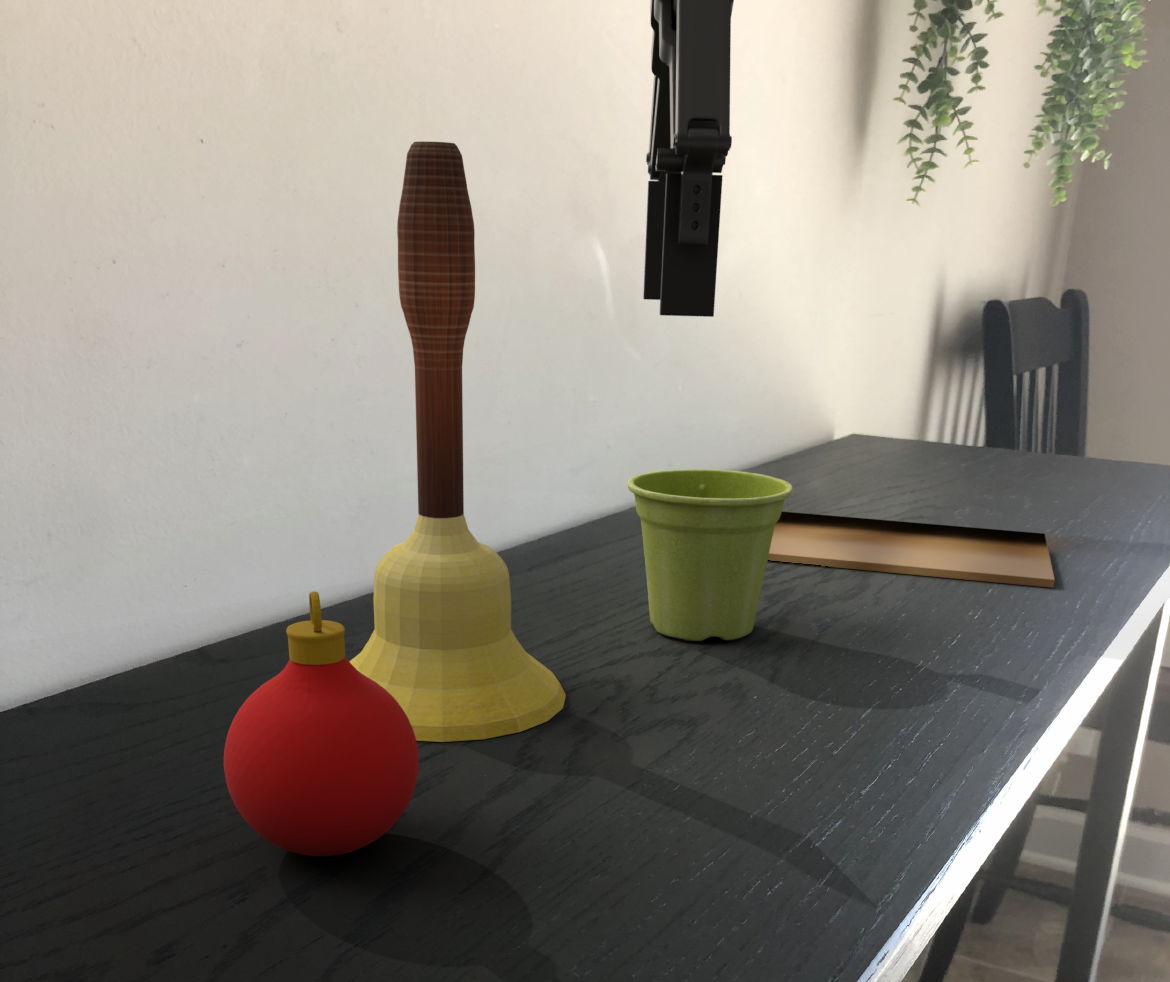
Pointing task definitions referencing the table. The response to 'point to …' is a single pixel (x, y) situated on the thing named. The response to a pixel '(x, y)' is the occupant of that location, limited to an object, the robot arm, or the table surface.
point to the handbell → (446, 502)
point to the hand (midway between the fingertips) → (675, 307)
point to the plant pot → (706, 547)
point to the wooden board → (913, 548)
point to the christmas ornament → (320, 749)
